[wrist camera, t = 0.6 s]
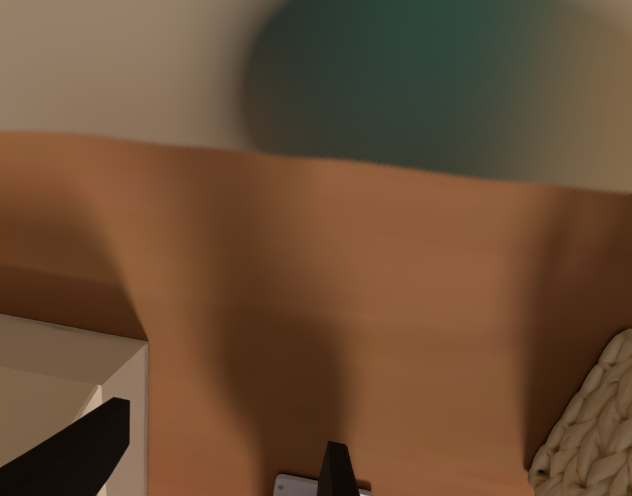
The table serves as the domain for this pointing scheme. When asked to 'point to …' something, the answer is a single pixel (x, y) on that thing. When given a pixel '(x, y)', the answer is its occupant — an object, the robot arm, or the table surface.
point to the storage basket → (592, 433)
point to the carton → (89, 380)
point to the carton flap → (36, 409)
